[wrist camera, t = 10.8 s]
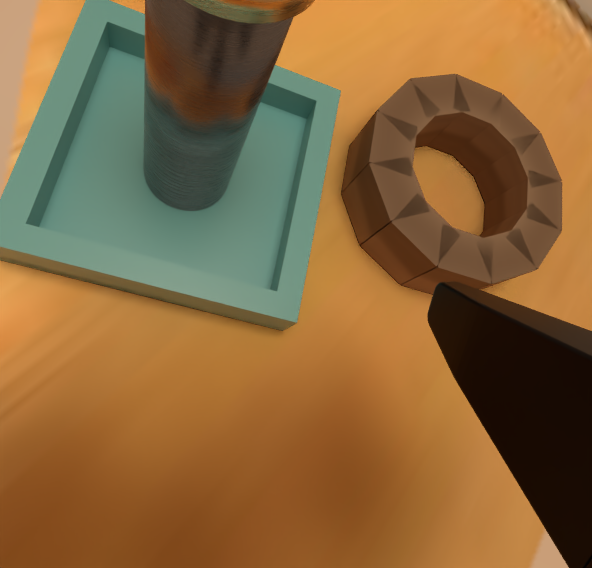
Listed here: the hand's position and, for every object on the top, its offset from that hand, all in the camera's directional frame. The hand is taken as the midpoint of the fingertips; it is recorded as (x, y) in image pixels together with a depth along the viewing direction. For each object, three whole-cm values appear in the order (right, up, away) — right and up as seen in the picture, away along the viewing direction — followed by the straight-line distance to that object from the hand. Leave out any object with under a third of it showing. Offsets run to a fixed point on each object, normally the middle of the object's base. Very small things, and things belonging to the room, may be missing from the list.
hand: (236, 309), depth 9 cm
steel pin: (-3, +5, +10) cm, 12 cm away
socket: (+8, +5, +15) cm, 17 cm away
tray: (-3, +5, +11) cm, 12 cm away
